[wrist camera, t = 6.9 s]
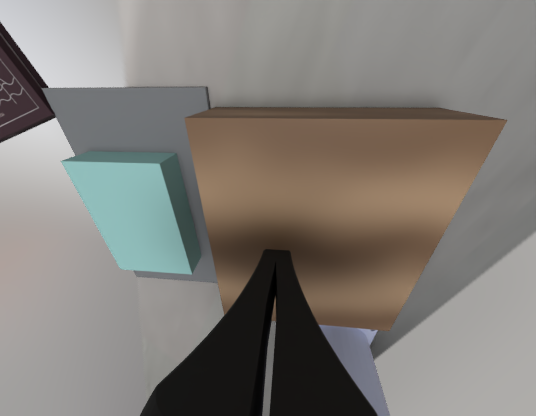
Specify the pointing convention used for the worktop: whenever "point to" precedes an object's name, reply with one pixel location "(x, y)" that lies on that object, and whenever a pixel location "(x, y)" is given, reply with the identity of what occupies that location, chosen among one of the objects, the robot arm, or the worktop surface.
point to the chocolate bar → (19, 91)
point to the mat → (140, 139)
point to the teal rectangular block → (138, 208)
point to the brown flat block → (335, 198)
